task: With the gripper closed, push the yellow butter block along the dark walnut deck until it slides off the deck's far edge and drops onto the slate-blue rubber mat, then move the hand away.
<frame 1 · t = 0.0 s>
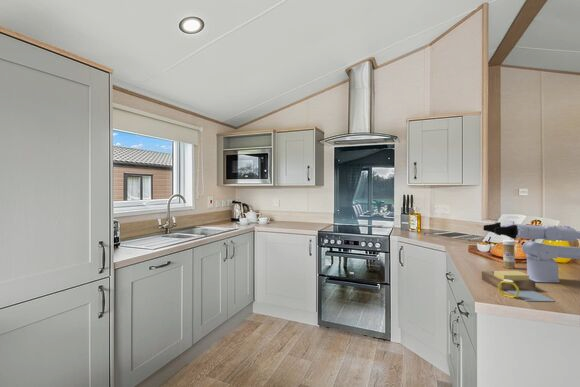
hand: (489, 229, 119), 22 cm above the worktop, tool horizontal, fingers open, 7 cm apart
sprinkles bottle: (509, 268, 135), on the worktop
mat: (529, 295, 101), on the worktop
yellow butter block: (511, 278, 110), point 3 cm above the worktop, touching deck
deck: (507, 284, 113), on the worktop
watch: (508, 297, 101), on the worktop
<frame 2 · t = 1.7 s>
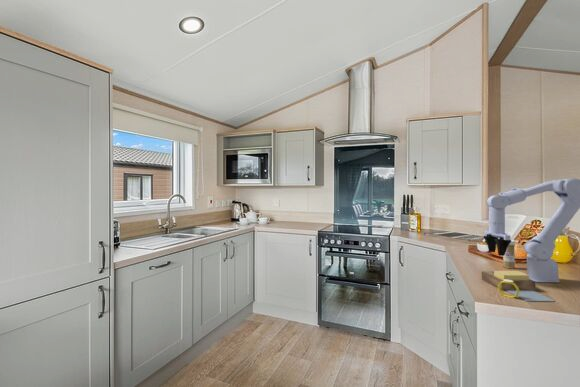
hand: (496, 253, 122), 10 cm above the worktop, tool pointing down, fingers open, 6 cm apart
nothing on the worktop moved.
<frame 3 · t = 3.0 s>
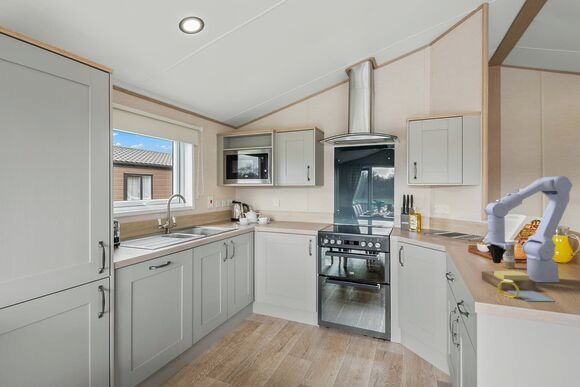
hand: (496, 263, 119), 7 cm above the worktop, tool pointing down, fingers closed
nothing on the worktop moved.
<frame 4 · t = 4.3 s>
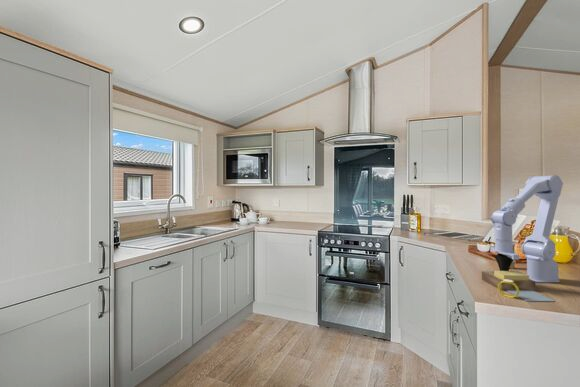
hand: (504, 273, 114), 4 cm above the worktop, tool pointing down, fingers closed
yellow butter block: (511, 278, 110), point 4 cm above the worktop, touching gripper
everything else where it was.
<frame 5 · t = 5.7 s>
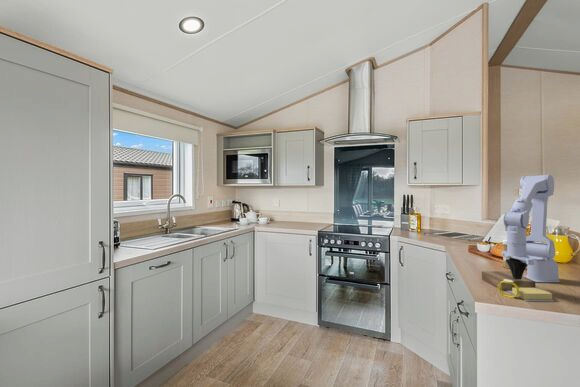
hand: (517, 278, 107), 4 cm above the worktop, tool pointing down, fingers closed
yellow butter block: (531, 290, 100), point 2 cm above the worktop, tilted 180°, touching mat
everything else where it was.
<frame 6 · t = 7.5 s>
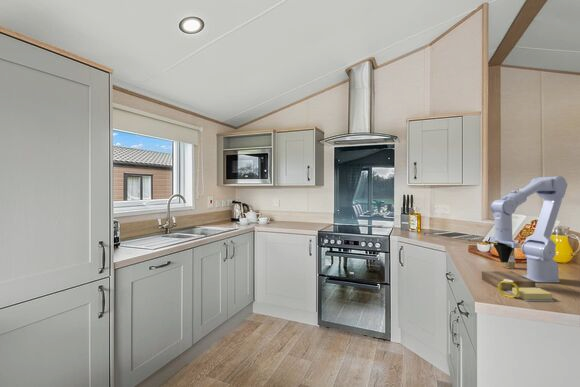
hand: (504, 262, 114), 9 cm above the worktop, tool pointing down, fingers closed
nothing on the worktop moved.
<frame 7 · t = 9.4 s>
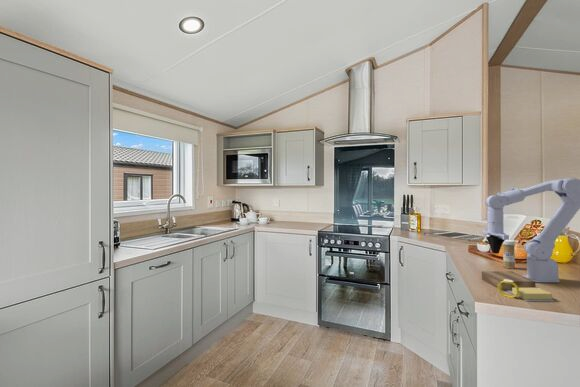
hand: (495, 253, 123), 10 cm above the worktop, tool pointing down, fingers closed
nothing on the worktop moved.
at the end: yellow butter block point 2.3 cm above the worktop; yellow butter block inside the target area on the mat (1.0 cm from its centre), point 2.3 cm above the mat's base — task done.
